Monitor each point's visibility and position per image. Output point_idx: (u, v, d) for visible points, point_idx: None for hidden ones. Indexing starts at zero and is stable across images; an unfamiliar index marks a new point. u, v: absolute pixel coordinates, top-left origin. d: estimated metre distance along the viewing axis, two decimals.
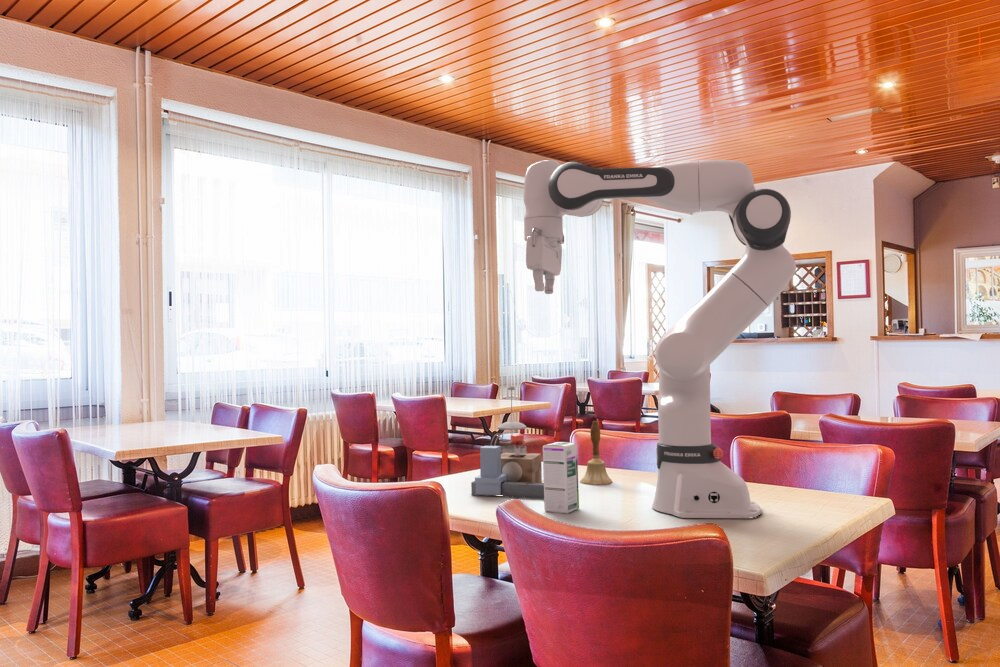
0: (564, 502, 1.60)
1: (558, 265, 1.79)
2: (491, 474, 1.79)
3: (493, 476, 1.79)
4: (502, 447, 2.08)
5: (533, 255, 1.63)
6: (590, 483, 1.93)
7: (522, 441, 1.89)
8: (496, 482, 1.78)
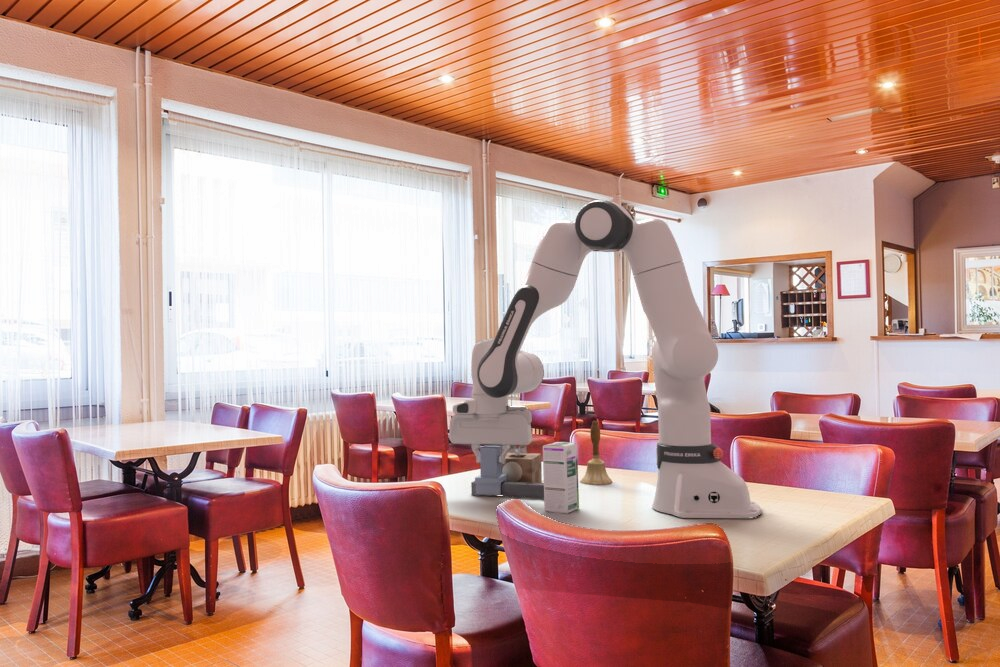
0: (564, 502, 1.60)
1: None
2: (491, 474, 1.79)
3: (493, 476, 1.79)
4: None
5: (530, 433, 1.79)
6: (590, 483, 1.93)
7: None
8: (496, 482, 1.78)
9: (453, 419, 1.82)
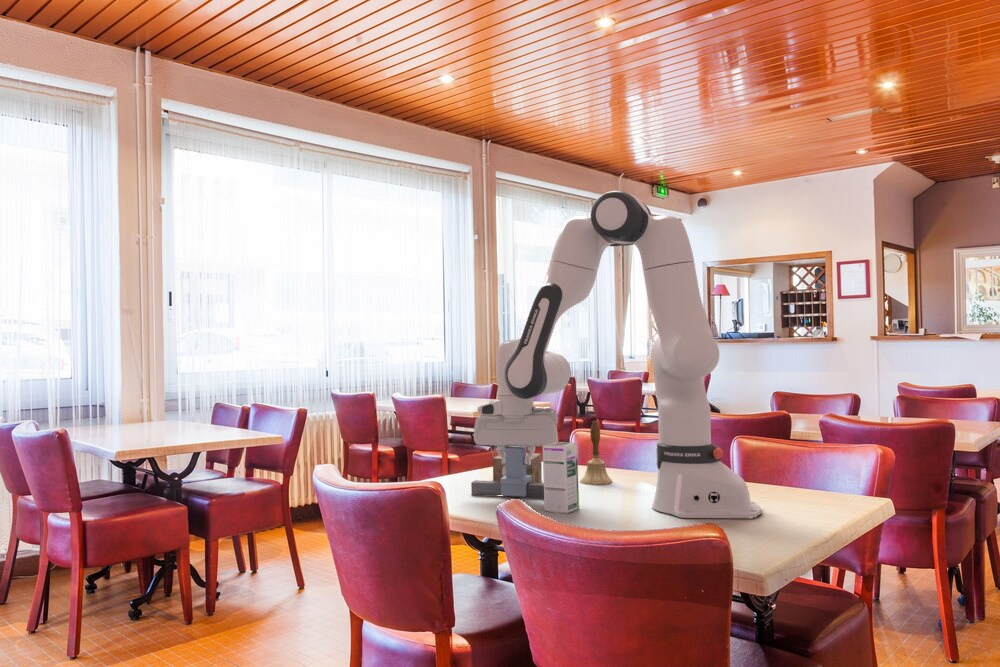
0: (564, 502, 1.60)
1: None
2: (516, 475, 1.78)
3: (519, 477, 1.77)
4: None
5: (556, 434, 1.77)
6: (590, 483, 1.93)
7: None
8: (522, 483, 1.76)
9: (478, 421, 1.80)
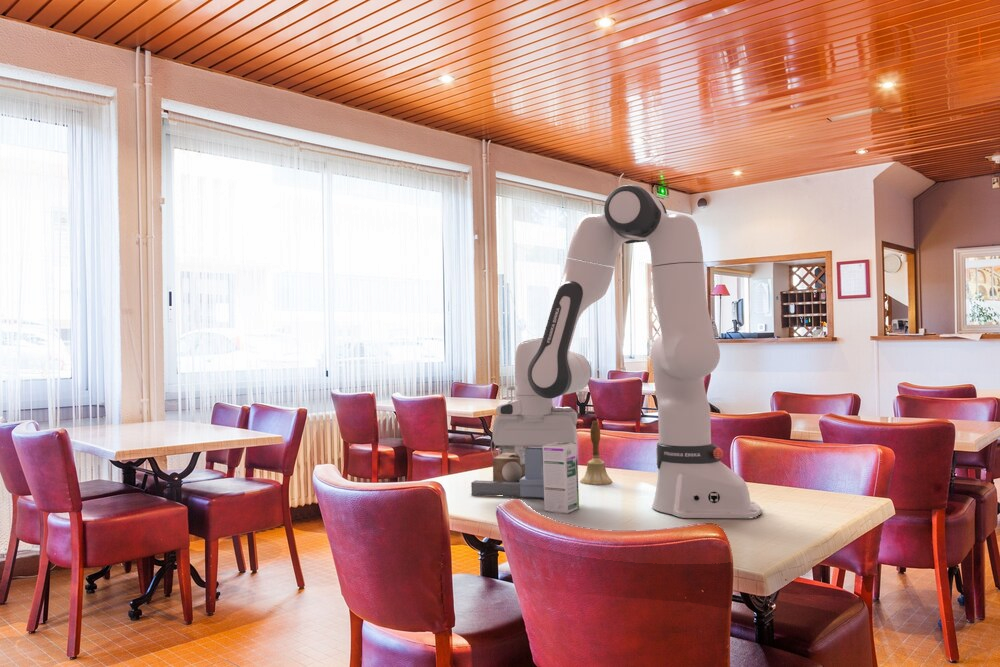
0: (564, 502, 1.60)
1: None
2: (536, 476, 1.76)
3: (538, 478, 1.76)
4: (502, 447, 2.08)
5: (575, 434, 1.76)
6: (590, 483, 1.93)
7: None
8: (541, 484, 1.74)
9: (496, 421, 1.79)
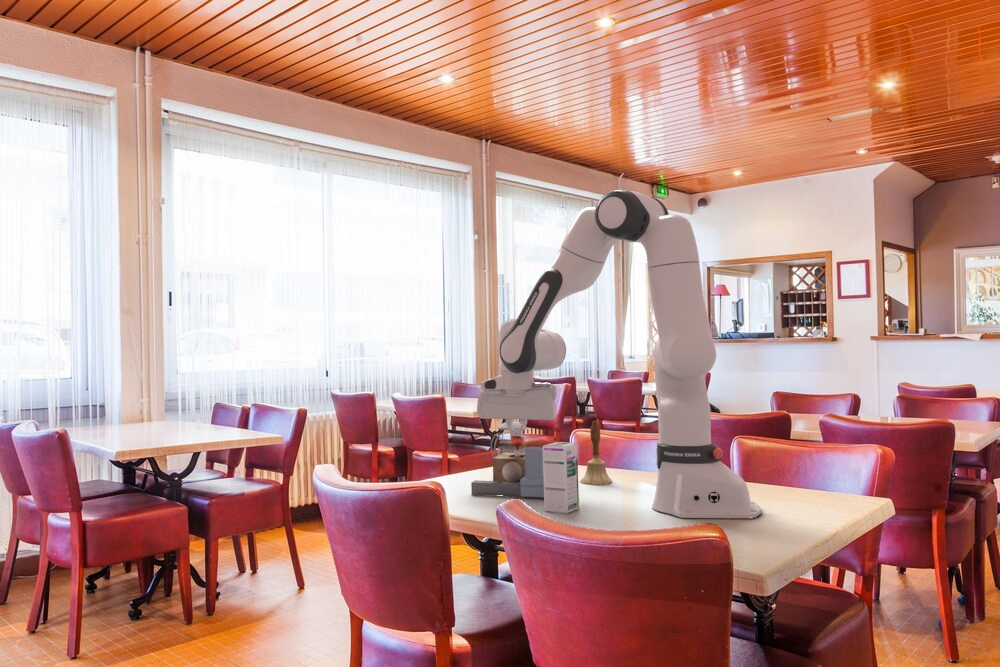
0: (564, 502, 1.60)
1: None
2: (536, 476, 1.76)
3: (538, 478, 1.76)
4: (502, 447, 2.08)
5: (554, 408, 1.87)
6: (590, 483, 1.93)
7: (522, 443, 1.89)
8: (542, 484, 1.74)
9: (480, 395, 1.90)
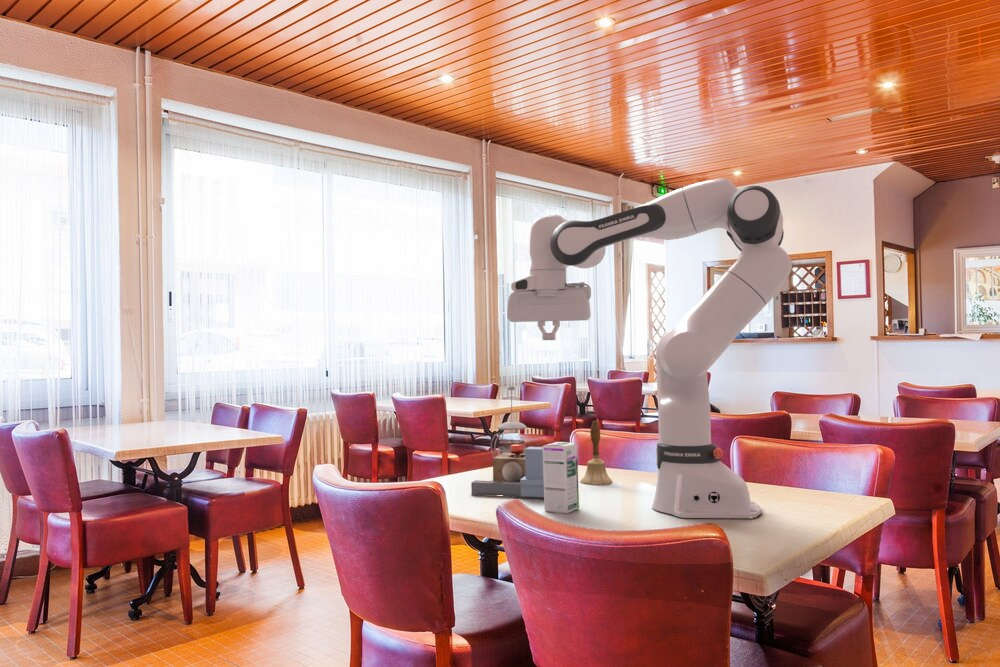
0: (564, 502, 1.60)
1: None
2: (536, 476, 1.76)
3: (538, 478, 1.76)
4: (502, 447, 2.08)
5: (589, 308, 1.79)
6: (590, 483, 1.93)
7: (522, 451, 1.89)
8: (542, 484, 1.74)
9: (511, 297, 1.82)
